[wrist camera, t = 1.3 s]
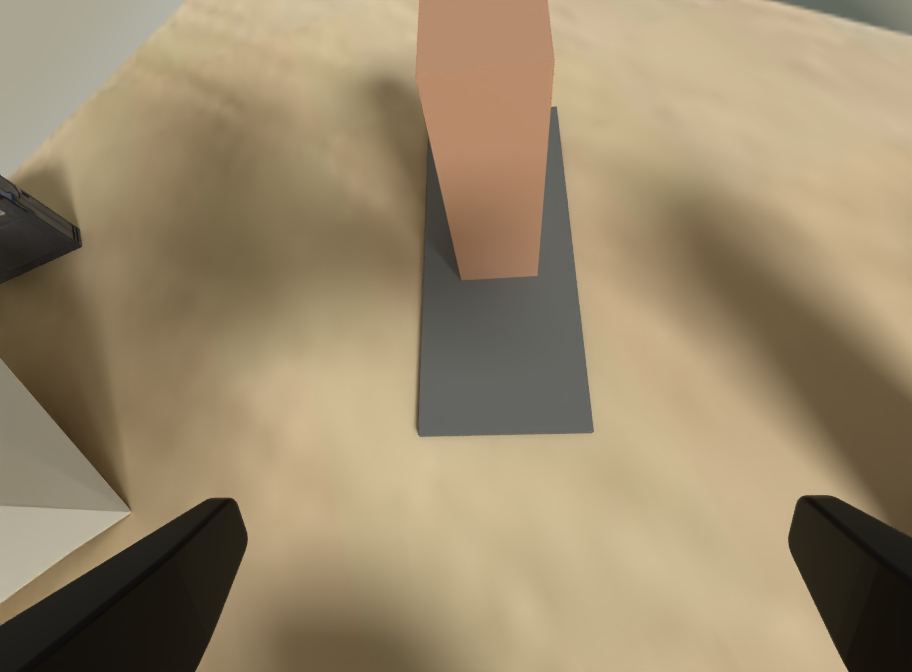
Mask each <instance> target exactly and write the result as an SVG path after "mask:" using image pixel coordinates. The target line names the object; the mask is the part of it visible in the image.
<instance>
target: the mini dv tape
mask: <svg viewBox="0 0 912 672" xmlns="http://www.w3.org/2000/svg"><path fill="white" fill-rule="evenodd" d="M80 247H82V244H81V237H80V230H79V229H78V228H77V227H76V226H74V225H73V224H71V223H70V222H68V221H67V220H65V219H64V218H62V217H61V216H59V215H58V214H57V213H55V212H54V211H52V210H51V209H49V208H48V207H46V206H45V205H43V204H42V203H40V202H39V201H38V200H36V199H35V198H33V197H32V196H30V195H29V194H27V193H26V192H24V191H23V190H21V189H20V188H19V187H17V186H16V185H14V184H13V183H11V182H10V181H8V180H7V179H5V178H4V177H2V176H1V175H0V284H1V283H3V282H5V281H7V280H10V279H12V278H14V277H16V276H19V275H21V274H23V273H25V272H27V271H30V270H32V269H34V268H36V267H38V266H41V265H43V264H45V263H47V262H49V261H52V260H54V259H56V258H58V257H60V256H63V255H65V254H67V253H69V252H71V251H74V250H76V249H78V248H80Z"/></svg>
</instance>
